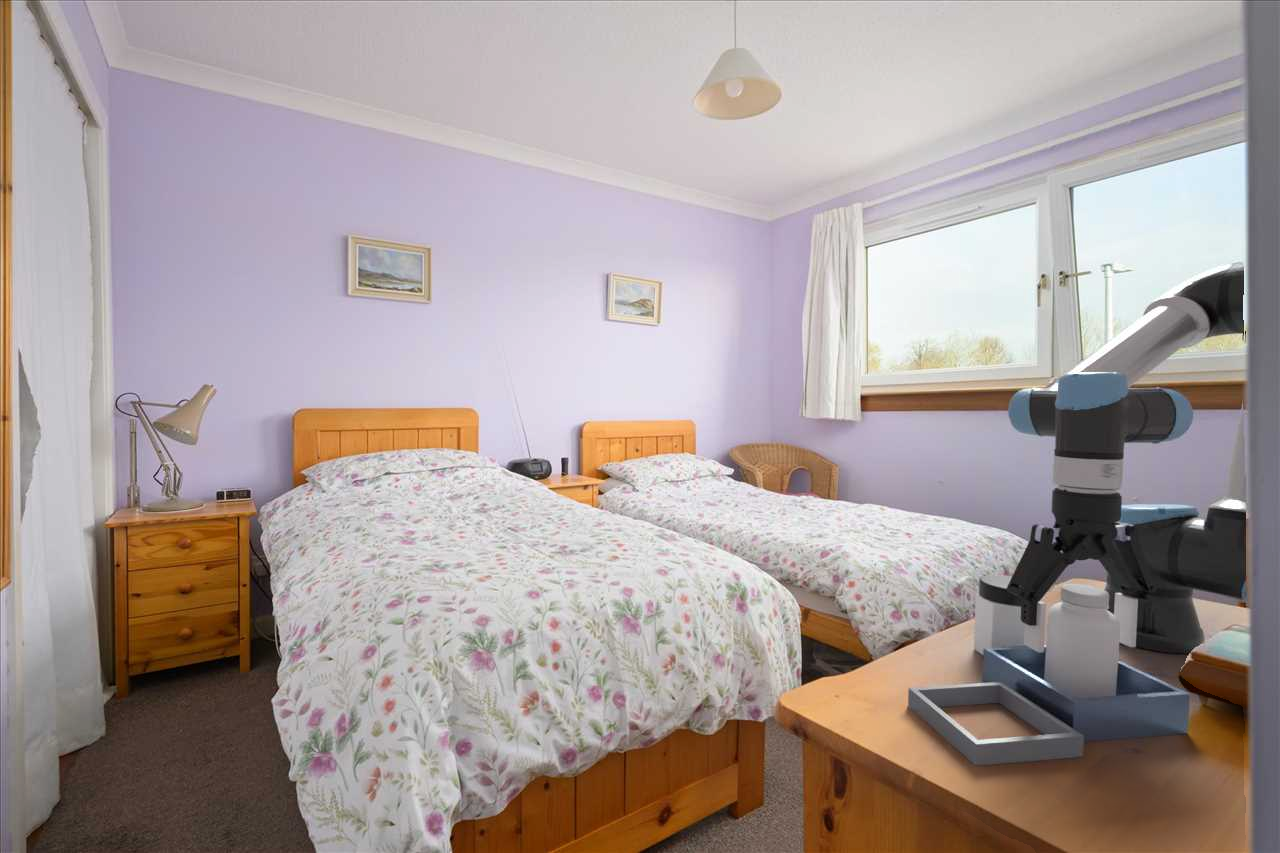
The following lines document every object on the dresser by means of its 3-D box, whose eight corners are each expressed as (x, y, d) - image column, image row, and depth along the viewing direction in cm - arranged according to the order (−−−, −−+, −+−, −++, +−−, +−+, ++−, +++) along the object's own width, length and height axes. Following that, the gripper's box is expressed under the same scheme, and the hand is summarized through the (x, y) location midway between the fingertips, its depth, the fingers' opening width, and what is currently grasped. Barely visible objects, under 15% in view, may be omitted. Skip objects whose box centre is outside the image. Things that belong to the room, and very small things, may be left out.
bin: (1080, 675, 93) (1081, 642, 93) (1187, 733, 78) (1189, 694, 77) (982, 681, 91) (983, 648, 91) (1072, 742, 75) (1074, 702, 75)
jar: (1018, 671, 95) (1021, 593, 94) (965, 652, 101) (967, 580, 101) (1046, 657, 100) (1049, 583, 99) (994, 640, 106) (996, 571, 106)
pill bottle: (1092, 718, 79) (1097, 602, 78) (1030, 690, 86) (1035, 583, 86) (1129, 705, 82) (1135, 594, 81) (1067, 680, 90) (1071, 577, 89)
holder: (1000, 699, 86) (1000, 681, 86) (1083, 756, 72) (1083, 735, 72) (908, 705, 84) (908, 687, 84) (975, 765, 71) (976, 744, 70)
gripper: (1022, 495, 77) (1015, 662, 78) (1196, 491, 81) (1188, 652, 82) (981, 486, 85) (975, 639, 86) (1142, 483, 88) (1135, 630, 89)
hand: (1079, 646), depth 84 cm, fingers open, 13 cm apart
